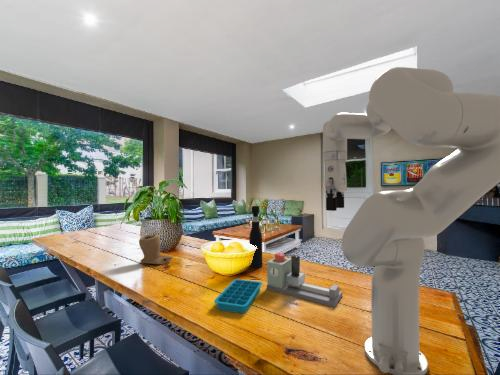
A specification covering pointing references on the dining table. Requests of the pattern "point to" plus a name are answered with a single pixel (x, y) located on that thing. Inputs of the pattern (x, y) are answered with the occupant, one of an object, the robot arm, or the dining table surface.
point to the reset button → (280, 257)
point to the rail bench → (307, 294)
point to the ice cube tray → (238, 296)
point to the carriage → (295, 273)
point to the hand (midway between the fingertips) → (335, 209)
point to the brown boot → (152, 250)
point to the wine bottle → (256, 239)
